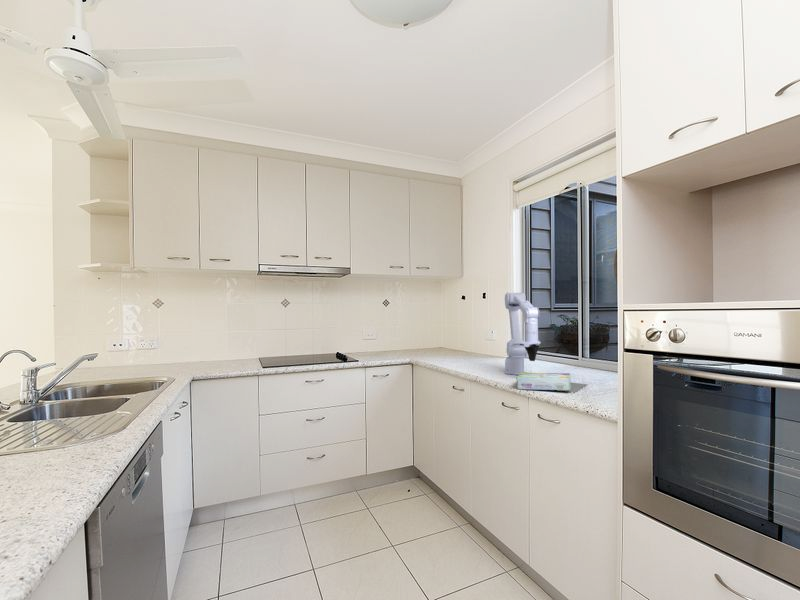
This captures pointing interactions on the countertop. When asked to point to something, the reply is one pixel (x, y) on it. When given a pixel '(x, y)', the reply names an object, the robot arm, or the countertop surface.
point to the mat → (574, 387)
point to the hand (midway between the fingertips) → (532, 360)
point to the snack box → (544, 381)
